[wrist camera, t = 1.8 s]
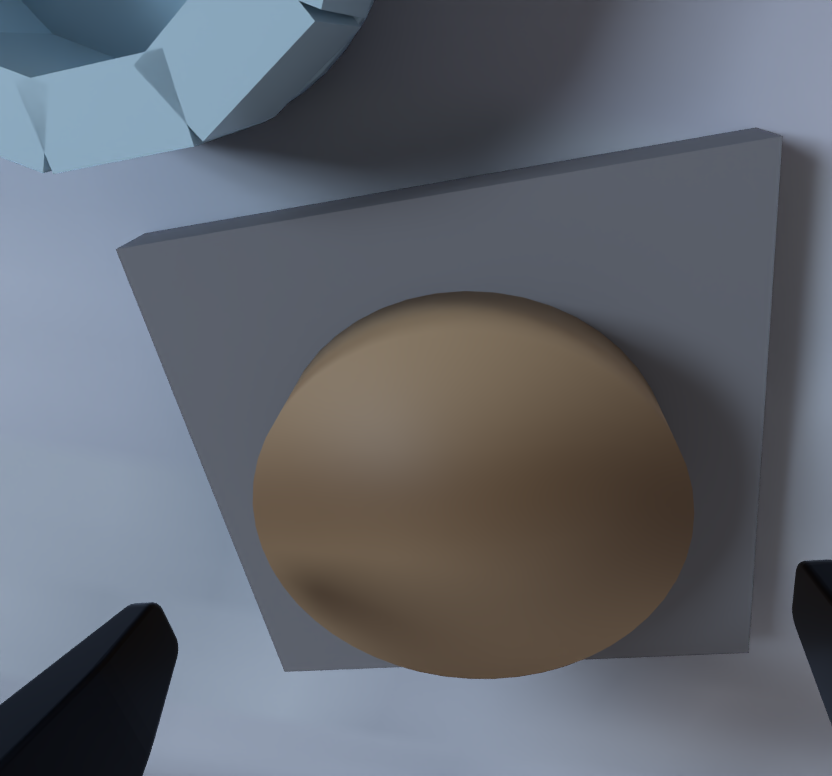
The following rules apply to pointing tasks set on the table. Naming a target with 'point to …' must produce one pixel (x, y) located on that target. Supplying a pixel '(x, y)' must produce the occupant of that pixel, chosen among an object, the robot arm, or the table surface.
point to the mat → (513, 275)
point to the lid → (474, 488)
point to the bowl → (155, 72)
